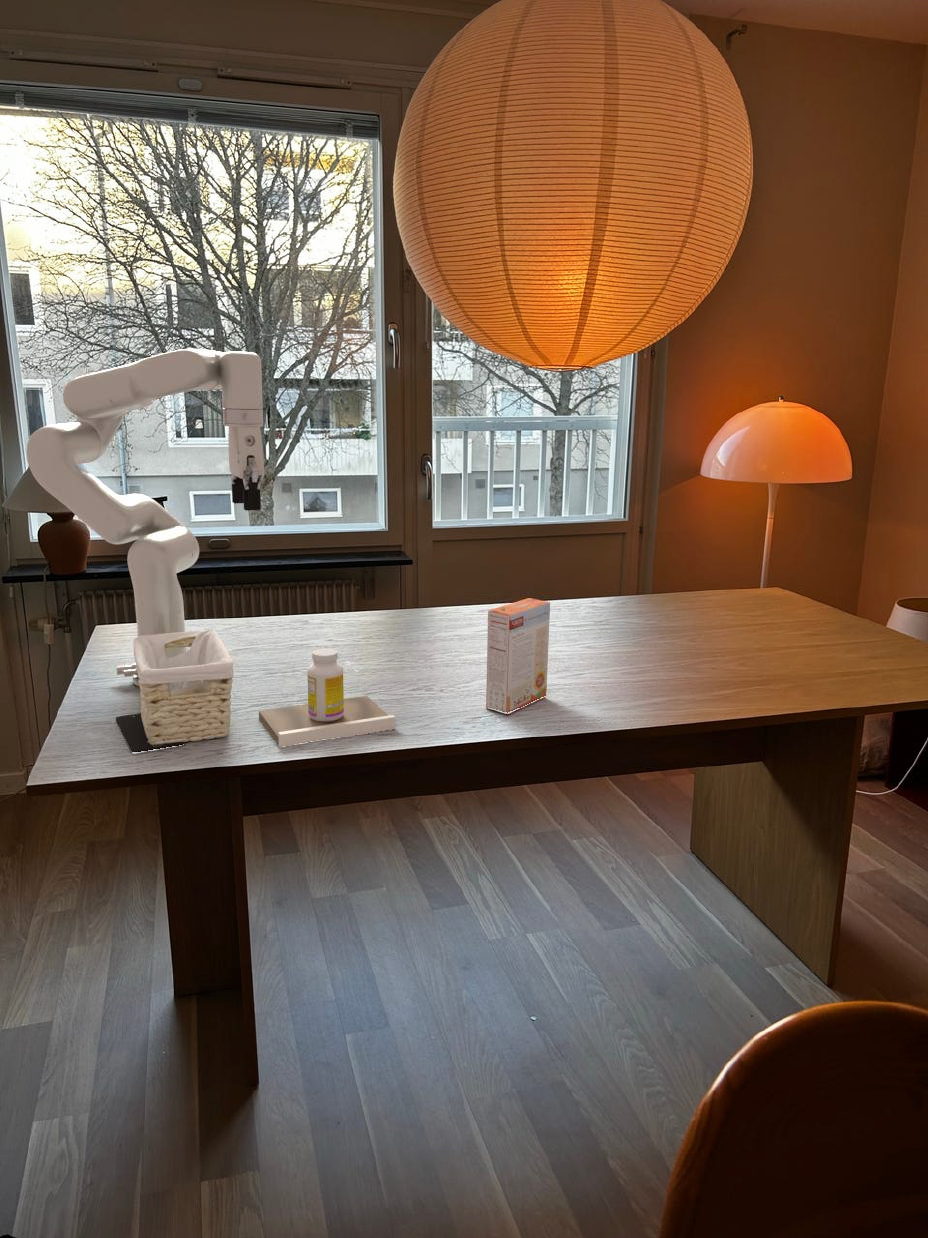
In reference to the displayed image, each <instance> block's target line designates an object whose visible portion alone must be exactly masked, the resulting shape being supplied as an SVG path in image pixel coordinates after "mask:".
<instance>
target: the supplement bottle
mask: <svg viewBox="0 0 928 1238" xmlns="http://www.w3.org/2000/svg"><path fill="white" fill-rule="evenodd" d="M338 654H339V653H338V650H336V649H334V648H318V649H314V650H313V651H312V654H311V656H312V659H311V660H312V661H313V662H312V663H311V664H310V665H309V666H308V668H307V704H308V713H309V717H310V718H311V719H313V720H315V721H321V722H330V721H335V720H338V719H340V718H341V717H342V716H343V714H344V699H345V697H344V695H345V694H344V667H343V666H342V665H341V664H340V663H339V662H337V660H338V658H339V655H338Z"/></svg>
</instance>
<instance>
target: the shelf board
mask: <svg viewBox="0 0 928 1238" xmlns="http://www.w3.org/2000/svg"><path fill="white" fill-rule="evenodd" d="M388 715H389V714H388V713H386V712H385V711H384V710H383V709H382V708H381V707H380V706H378V705H377V704H376V702H375V701H373V700H372V699H371V698H370V697H369V695H362V696H355V697H349V698H344V714H343V716H342V717H341V718H340V719H338V720H335V721H330V722H321V721H315V720H313V719H311V718H310V717H309V713H308V703H307V704H297V705H293V706H292V705H291V706H284V707H277V708H271V709H263V710H258V719H259V720H260V722H261V723H262V724H263V726H264V727H265V728H266V730H267V732H269V734H270V735H271V736H272V738H273V740H274V741H275V740H276V741H277V742H276V741H275V742H276V744H277V743H278V744H279V737H278V732H284V731H290V730H297V729H303V728H310V727H316V726H323V725H329V724H336V723H342V722H349V721H356V720H362V719H369V718H375V717H382V716H388ZM278 744H277V745H278Z"/></svg>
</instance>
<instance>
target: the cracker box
mask: <svg viewBox="0 0 928 1238" xmlns="http://www.w3.org/2000/svg"><path fill="white" fill-rule="evenodd" d="M550 613H551V602H550V601H546V600H540V599H536V598H531V597H530V598H529V597H528V598H524V599H521V600H518V601H515V602H512V603H507V604H506V605H502V606H499V607H496V608H492V609H489V610H488V611H487V647H486V648H487V649H486V650H487V651H486V655H487V656H486V661H487V662H486V692H485V693H486V696H485V697H486V699H485V709H486V708H492V709H496V710H499V711H502V712H507V713H508V712H510V711H513V710H515V709H517V708H521V707H523V706H525V705H527V704H529V703H531V702H533V701H535V700H537V699H540V698H541V697H544V696H546V697H547V687H548V684H547V683H548V663H549V644H550V643H549V642H550V641H549V640H550V639H549V638H550V620H551V619H550V618H551V617H550V616H551V614H550Z"/></svg>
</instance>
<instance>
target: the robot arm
mask: <svg viewBox="0 0 928 1238" xmlns="http://www.w3.org/2000/svg"><path fill="white" fill-rule="evenodd" d="M262 374H263V371H262V360H261V357H260V355H259V354H257V353H255V352H251V351H249V352H248V351H226V352H222V351H218V350H217V351H216V350H212V349H211V350H210V349H201V348H200V349H199V348H185V349H177V350H174V351H168V352H165V353H161V354H156V355H153V356H150V357H146V358H143V359H140V360H138V361H134V362H132V363H129V364H125V365H124V364H123V365H121V366H117V367H113V368H108V369H104V370H100V371H96V372H92V373H88V374H84V375H83V374H82V375H80V376H77V377H74V378H73V379H71V380H70V381H69V382H68V383H67V384H66V385H65V386H64V389H63V392H62V399H63V403H64V406H65V407H66V409H67V410H68V411H69V412H70V414H72V415H73V416H75V417H77V419H76V421H75V422H64V423H55V424H48V425H44V426H42V427H40V428H38V429H37V430H34V431H33V432H32V434H31V435H30V437H29V439H28V441H27V444H26V460H27V463H28V467H29V470H30V472H31V474H32V476H33V477H34V479H35V480H36V481H37V483H39V485H40V486H41V487H42V488H43V489H44V490H45V491H46V492H47V493H49V494H50V495H51V496H52V497H54V498H55V499H57V500H58V501H59V502H60V503H61V504H62V505H64V506H65V507H66V508H67V509H69V510H70V511H71V512H72V513H73V514H74V515H75V516H76V517H77V518H78V519H80V520H81V521H82V522H83V523H84V524H86V526H88V527H89V528H90V529H91V530H92V531H94V532H95V534H97V535H98V536H99V537H101V539H103V540H104V541H106V543H109V544H112V545H123V544H127V543H130V542H133V541H134V542H133V543H132V544H131V546H130V547H129V549H128V553H127V558H126V559H127V566H128V571H129V575H130V578H131V583H132V588H133V593H134V594H133V596H134V607H135V615H136V616H135V617H136V619H135V620H136V630H137V637H138V636H142V635H155V634H166V633H177V632H186V627H185V625H186V624H185V609H184V598H183V597H184V596H183V591H182V588H181V584H180V582H179V580H178V575H177V574H178V573H180V572H183V571H185V570H187V569H189V568H190V567H193V565H195V563H196V562H197V561H198V559H199V557H200V556H199V555H200V545H199V542H198V540H197V538H196V536H195V535H194V533H193V532H192V531H191V530H190V529H189V528H188V527H187V526H186V525H184V524H183V523H182V522H181V521H179V519H177V518H176V517H175V516H174V515H173V514H171V513H170V512H169V511H168V510H167V509H166V508H165V507H163V505H161V504H160V503H158V502H157V501H156V500H155V499H153V498H152V497H149V496H148V495H144V494H142V493H130V494H125V495H120V494H118V493H116V492H115V491H114V490H112V489H111V488H109V487H108V486H107V485H106V484H105V483H103V481H101V480H100V479H99V478H98V477H96V476H95V475H93V474H91V473H89V472H88V471H86V470H84V469H83V468H81V467H79V466H78V465H81V464H88V463H93V462H95V461H97V460H98V459H99V458H101V457H102V456H103V454H105V452H106V451H107V449H108V447H109V446H110V444H111V442H112V441H113V439H114V437H115V435H116V433H117V431H118V429H119V428H120V425H121V424H122V422H123V420H124V418H125V416H126V413H127V412H130V411H131V412H132V411H136V410H138V409H143V408H147V407H149V406H150V405H151V404H152V402H153V401H154V400H157V399H160V398H163V397H168V396H172V395H177V394H181V393H185V392H186V393H187V392H194V391H215V390H221V397H222V400H221V401H222V418H223V419H222V420H223V421H222V424H223V426H224V427H228V434H227V436H228V465H229V472H230V474H232V475H231V502H232V503H233V504H243V510H244V511H249V512H250V511H260V510H261V509H262V508H261V507H262V506H261V505H262V504H261V499H262V498H261V485H260V481H261V480H260V479H263V478H264V476H265V461H264V447H263V438H262V431H261V427H264V411H263V407H264V405H263V375H262ZM186 651H187V647H176V648H165V654H166V657H167V658H170V657H175V656H177V655H179V654H181V653H184V652H186ZM115 668H116V669H115V671H116V676H122V675H124V678H126V677H132V682H133V684H134V685H135V686H136V687H139V684H138V683H139V682H138V680H139V677H138V672H137V667H136V662H132V663H131V664H128V665H125V664H124V665H123V664H122V665H116V667H115Z"/></svg>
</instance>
